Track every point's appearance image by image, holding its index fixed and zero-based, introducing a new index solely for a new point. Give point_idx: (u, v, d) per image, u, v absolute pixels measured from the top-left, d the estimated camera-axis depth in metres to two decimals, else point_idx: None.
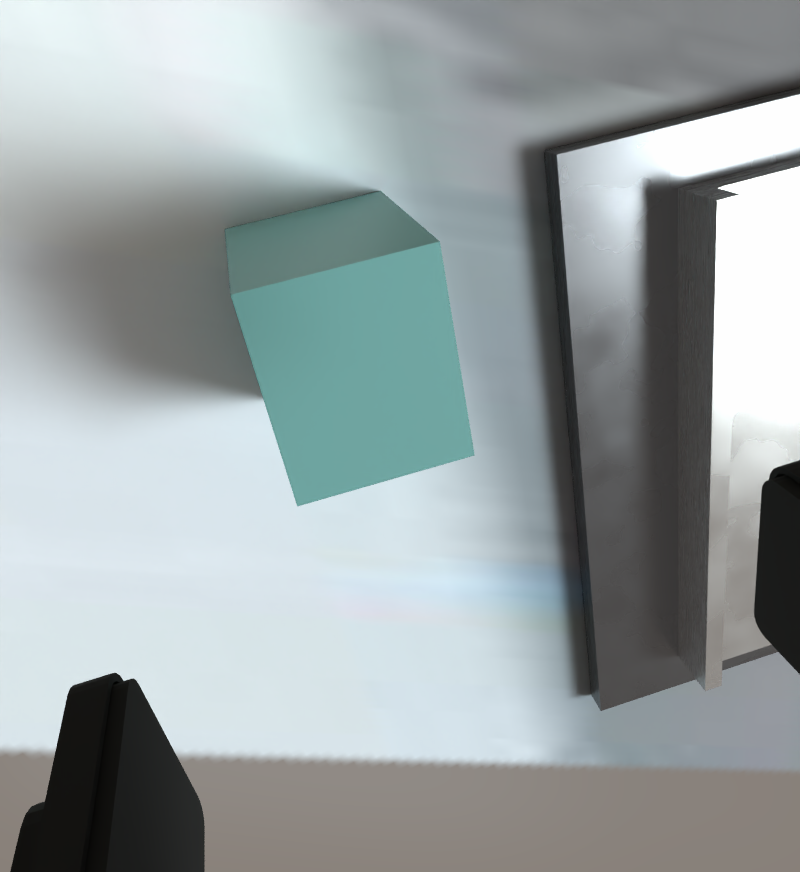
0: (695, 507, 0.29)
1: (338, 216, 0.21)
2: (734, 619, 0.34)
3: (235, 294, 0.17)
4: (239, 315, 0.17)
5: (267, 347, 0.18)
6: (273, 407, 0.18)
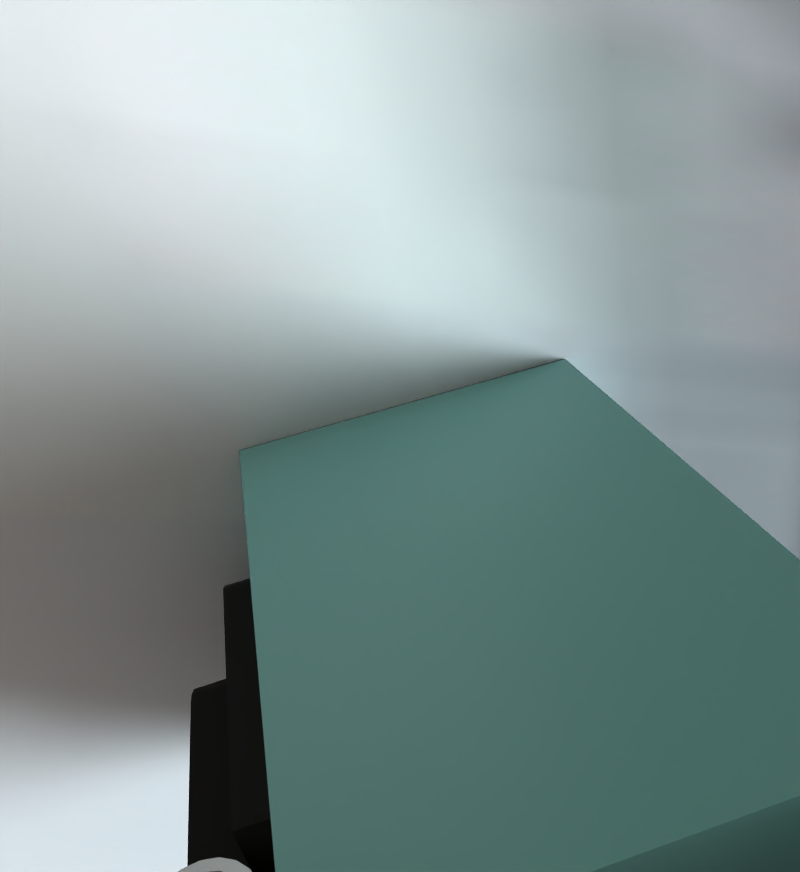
0: None
1: (507, 453, 0.09)
2: None
3: None
4: None
5: None
6: None
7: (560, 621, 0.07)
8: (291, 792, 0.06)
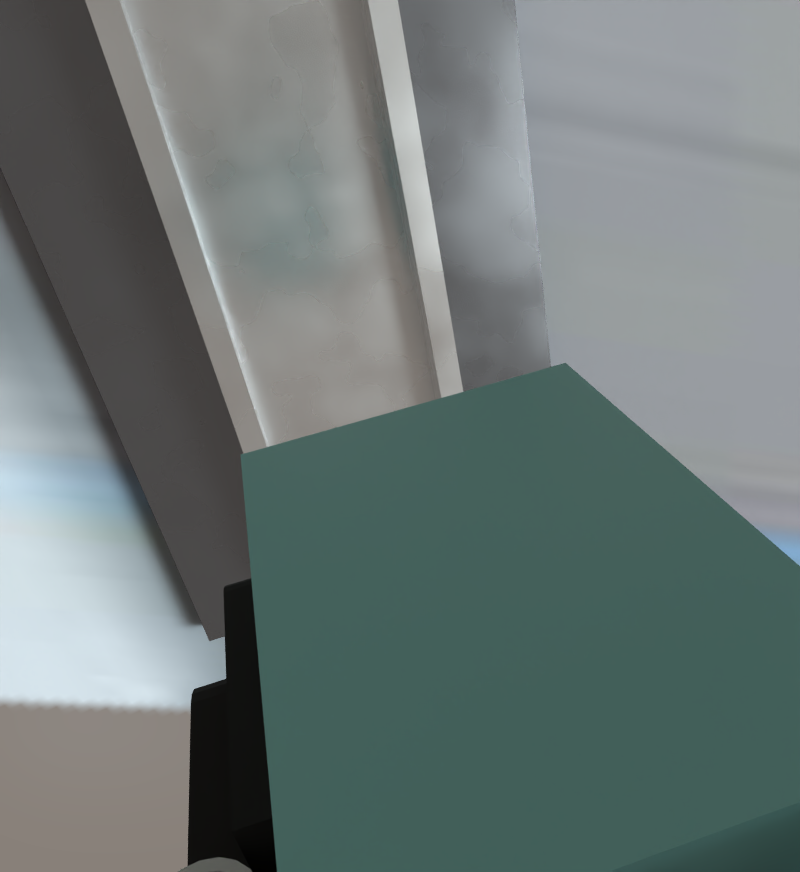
0: None
1: (508, 458, 0.09)
2: None
3: None
4: None
5: None
6: None
7: (561, 627, 0.07)
8: (293, 798, 0.06)
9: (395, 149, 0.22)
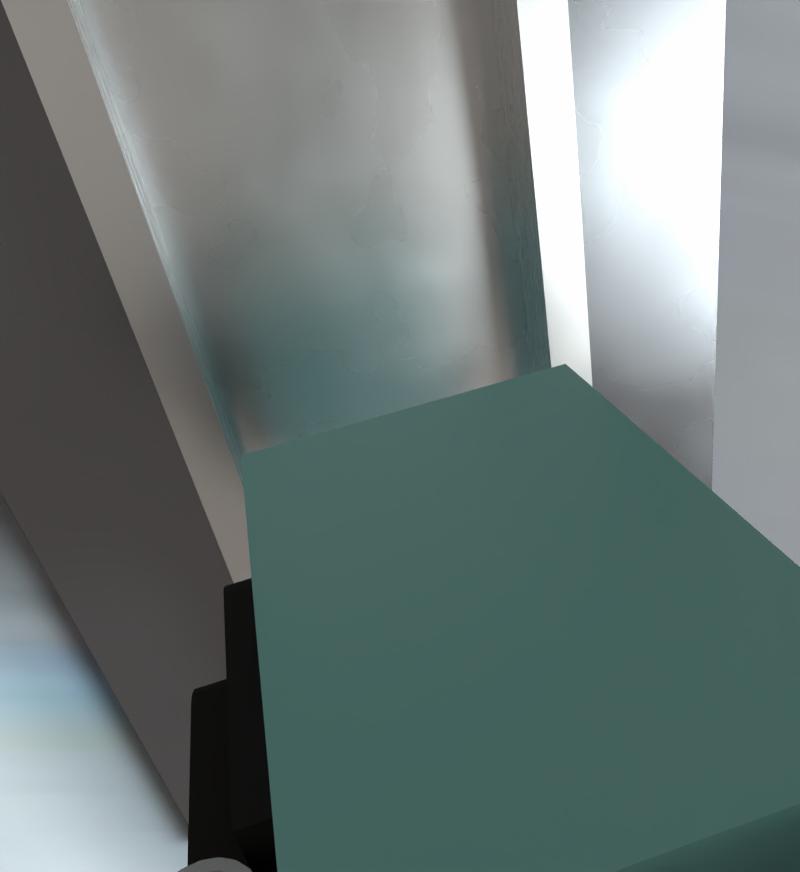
0: None
1: (508, 459, 0.09)
2: None
3: None
4: None
5: None
6: None
7: (561, 628, 0.07)
8: (294, 799, 0.06)
9: (535, 204, 0.13)
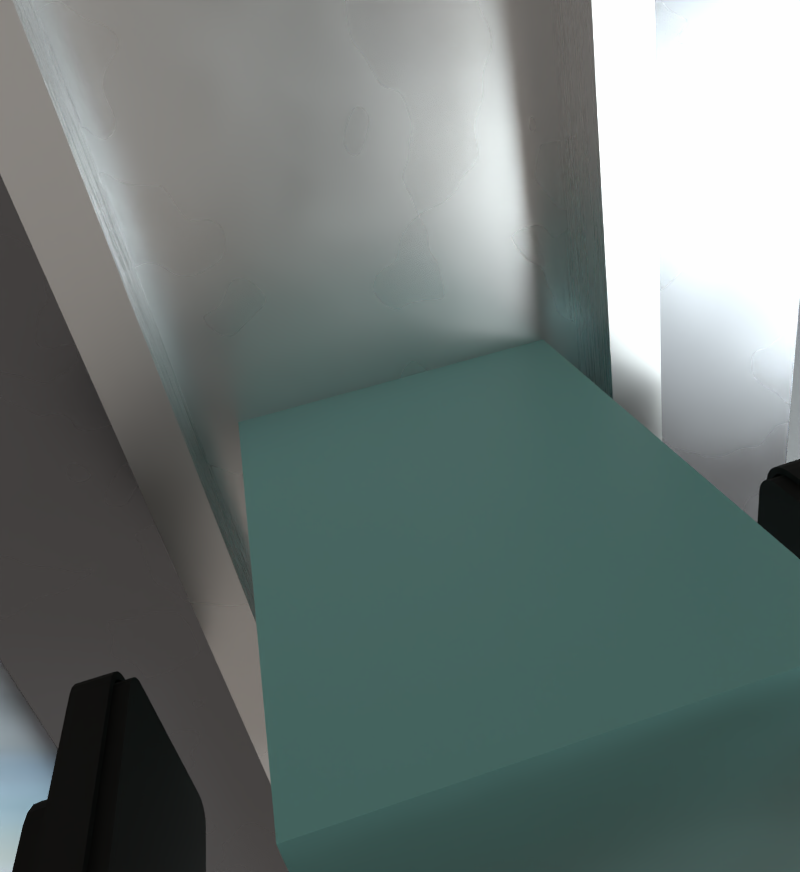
0: None
1: (485, 422, 0.10)
2: None
3: (292, 839, 0.05)
4: None
5: None
6: None
7: (525, 561, 0.07)
8: (283, 701, 0.06)
9: (604, 260, 0.10)
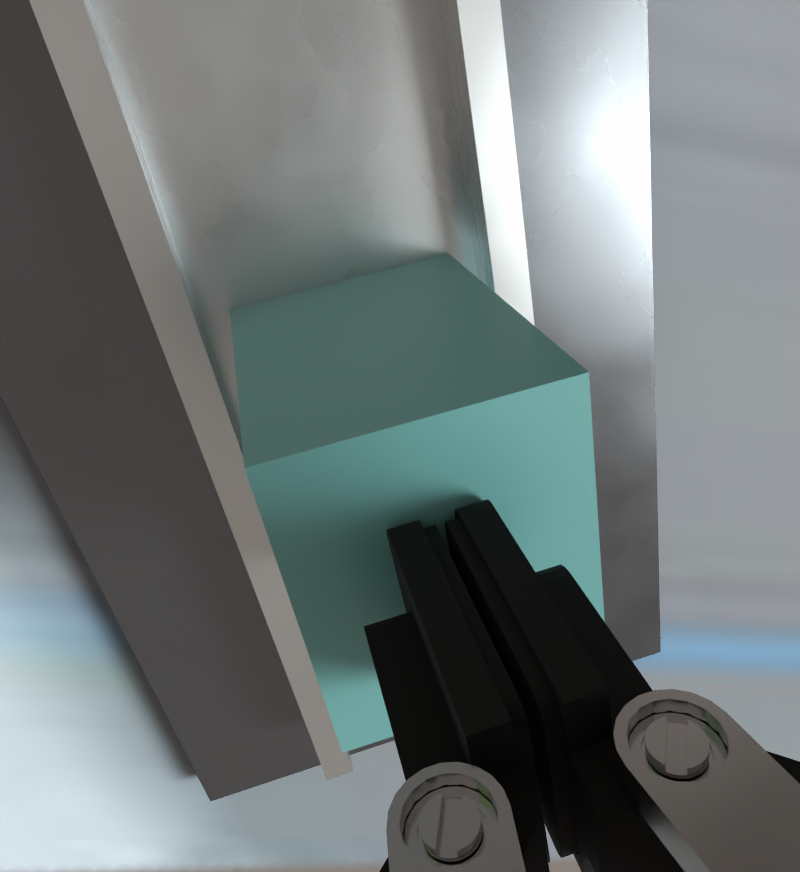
0: None
1: (397, 299, 0.15)
2: None
3: (253, 467, 0.10)
4: (259, 498, 0.10)
5: (303, 542, 0.11)
6: (310, 626, 0.12)
7: (403, 359, 0.12)
8: (252, 423, 0.11)
9: (481, 190, 0.15)
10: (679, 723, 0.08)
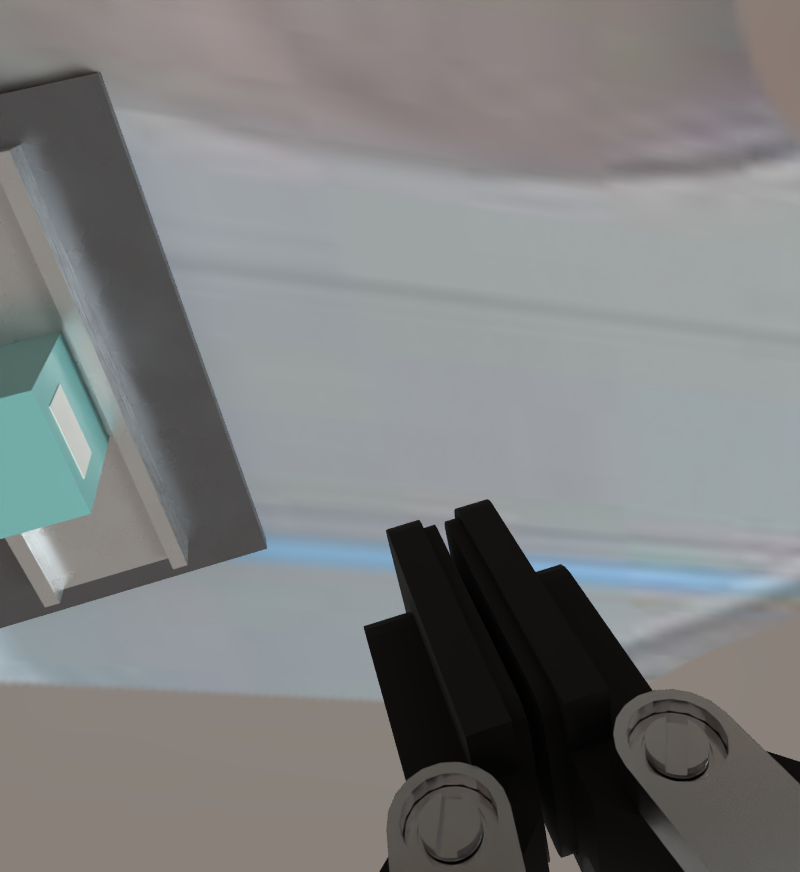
0: None
1: (15, 356, 0.33)
2: (70, 547, 0.40)
3: None
4: None
5: None
6: None
7: None
8: None
9: (56, 306, 0.33)
10: (678, 723, 0.08)
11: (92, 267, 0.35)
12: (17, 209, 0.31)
